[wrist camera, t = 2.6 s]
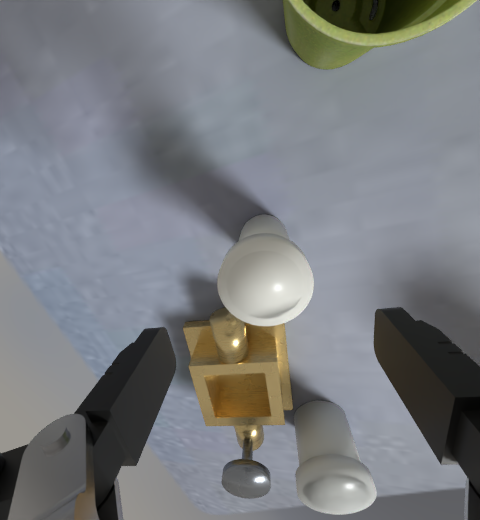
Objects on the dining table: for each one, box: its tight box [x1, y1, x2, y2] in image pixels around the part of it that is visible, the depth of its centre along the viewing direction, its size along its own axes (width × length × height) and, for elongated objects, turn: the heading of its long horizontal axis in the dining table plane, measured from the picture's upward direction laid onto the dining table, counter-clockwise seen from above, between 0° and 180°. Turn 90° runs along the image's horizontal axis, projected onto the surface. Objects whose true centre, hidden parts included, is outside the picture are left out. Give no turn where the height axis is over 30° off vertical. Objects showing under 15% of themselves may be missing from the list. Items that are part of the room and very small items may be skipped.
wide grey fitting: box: [294, 401, 377, 514], centre depth 25 cm, size 7×7×7 cm
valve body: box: [183, 307, 293, 498], centre depth 23 cm, size 17×10×8 cm, turn 9°
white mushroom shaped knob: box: [217, 215, 314, 326], centre depth 17 cm, size 5×5×9 cm
